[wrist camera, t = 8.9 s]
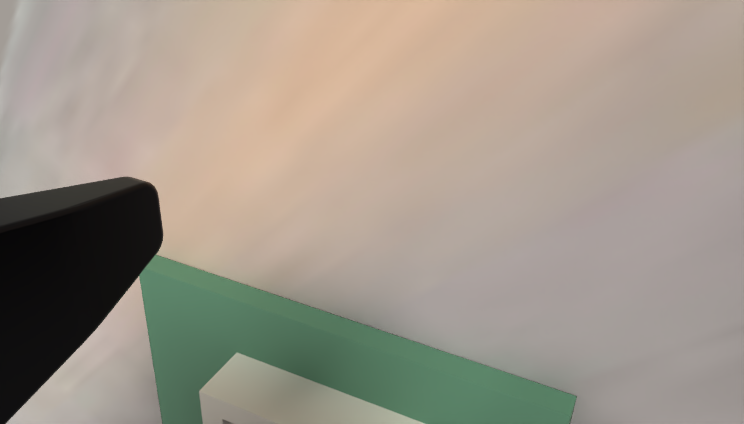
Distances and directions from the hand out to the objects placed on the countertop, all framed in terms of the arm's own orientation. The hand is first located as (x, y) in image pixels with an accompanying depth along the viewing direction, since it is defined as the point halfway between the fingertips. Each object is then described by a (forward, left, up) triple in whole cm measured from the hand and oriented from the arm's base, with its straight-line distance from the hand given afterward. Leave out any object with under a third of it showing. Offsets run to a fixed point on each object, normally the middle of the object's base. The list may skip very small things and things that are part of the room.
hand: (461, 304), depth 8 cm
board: (+8, +19, -12) cm, 24 cm away
